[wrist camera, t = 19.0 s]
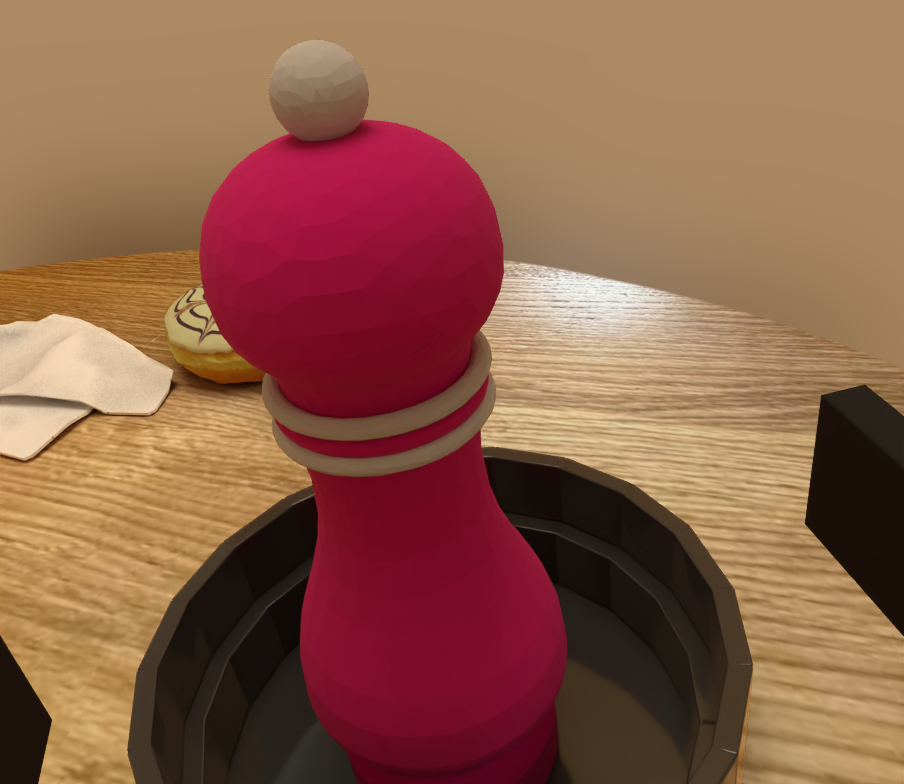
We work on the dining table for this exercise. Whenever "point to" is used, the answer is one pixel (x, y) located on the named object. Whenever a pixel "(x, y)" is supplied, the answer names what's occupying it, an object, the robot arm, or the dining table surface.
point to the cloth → (69, 380)
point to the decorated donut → (204, 342)
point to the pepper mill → (389, 432)
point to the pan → (585, 619)
